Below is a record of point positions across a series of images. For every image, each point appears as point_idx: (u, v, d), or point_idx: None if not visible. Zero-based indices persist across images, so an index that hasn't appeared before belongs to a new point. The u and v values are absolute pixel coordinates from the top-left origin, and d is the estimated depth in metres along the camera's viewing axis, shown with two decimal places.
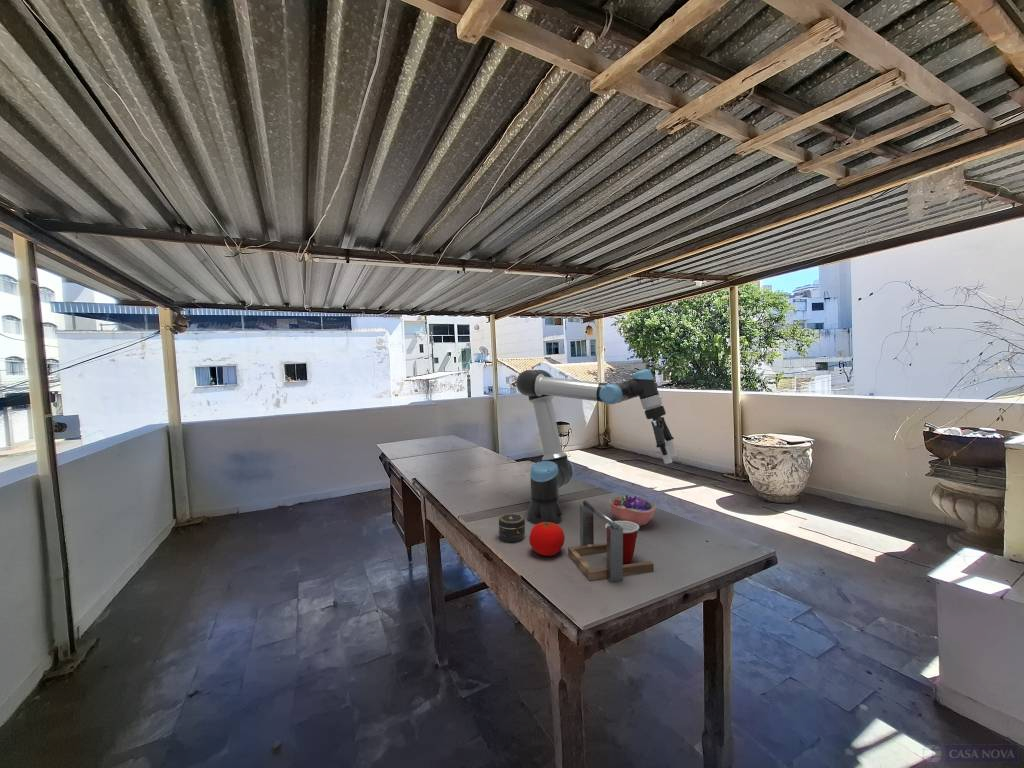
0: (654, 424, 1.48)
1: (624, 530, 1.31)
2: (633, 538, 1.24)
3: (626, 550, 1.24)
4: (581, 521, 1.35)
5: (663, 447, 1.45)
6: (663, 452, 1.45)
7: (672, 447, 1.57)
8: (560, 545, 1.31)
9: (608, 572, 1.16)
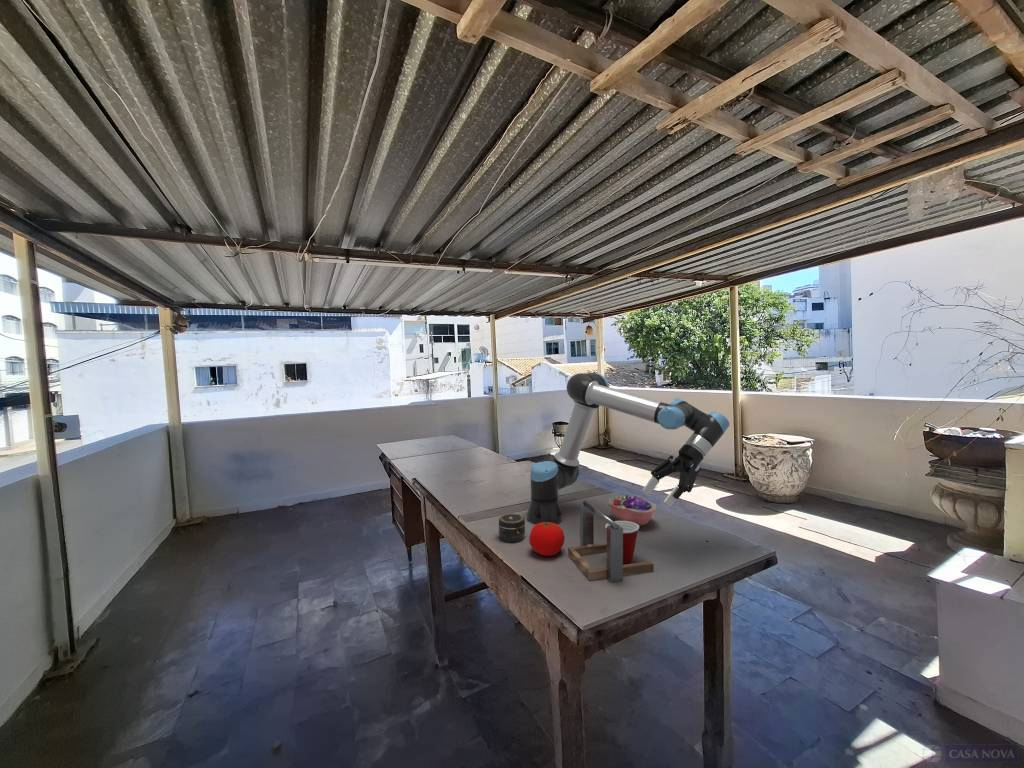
0: (696, 468, 1.26)
1: (624, 530, 1.31)
2: (633, 538, 1.24)
3: (626, 550, 1.24)
4: (581, 521, 1.35)
5: (682, 492, 1.24)
6: (677, 495, 1.23)
7: (652, 486, 1.37)
8: (560, 545, 1.31)
9: (608, 572, 1.16)
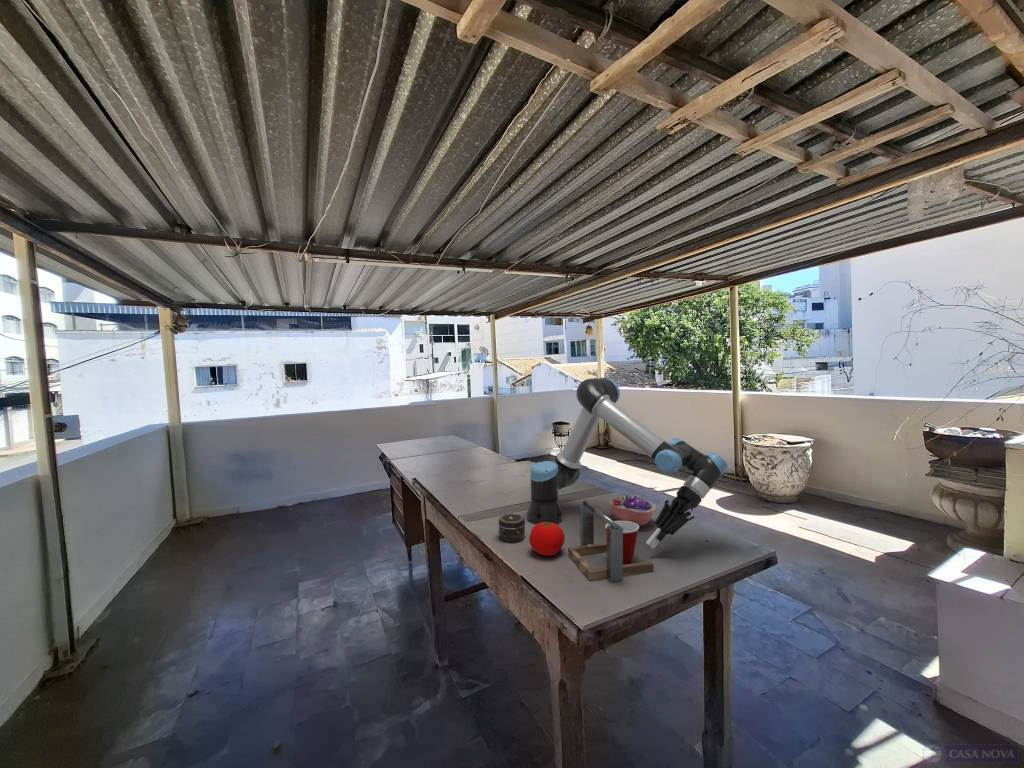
0: (688, 516, 1.27)
1: (624, 530, 1.31)
2: (633, 538, 1.24)
3: (626, 550, 1.24)
4: (581, 521, 1.35)
5: (665, 534, 1.29)
6: (660, 537, 1.29)
7: None
8: (560, 545, 1.31)
9: (608, 572, 1.16)
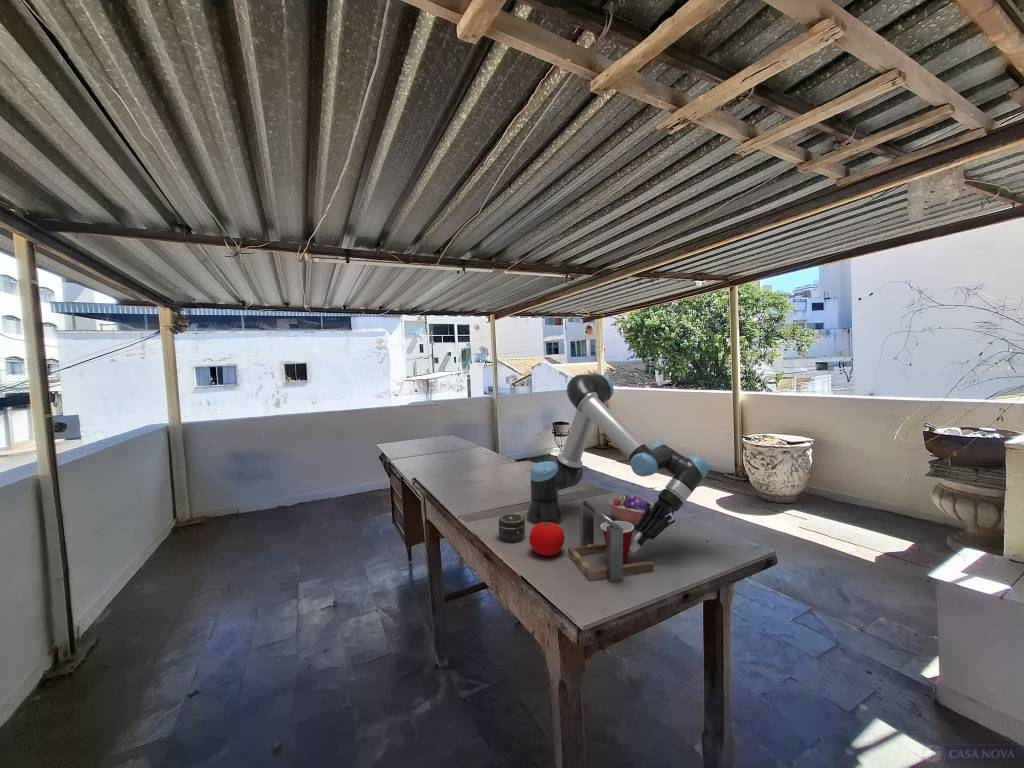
0: (669, 520, 1.24)
1: None
2: (628, 538, 1.24)
3: None
4: (581, 521, 1.35)
5: (646, 538, 1.27)
6: (641, 541, 1.27)
7: None
8: (560, 545, 1.31)
9: (608, 572, 1.16)
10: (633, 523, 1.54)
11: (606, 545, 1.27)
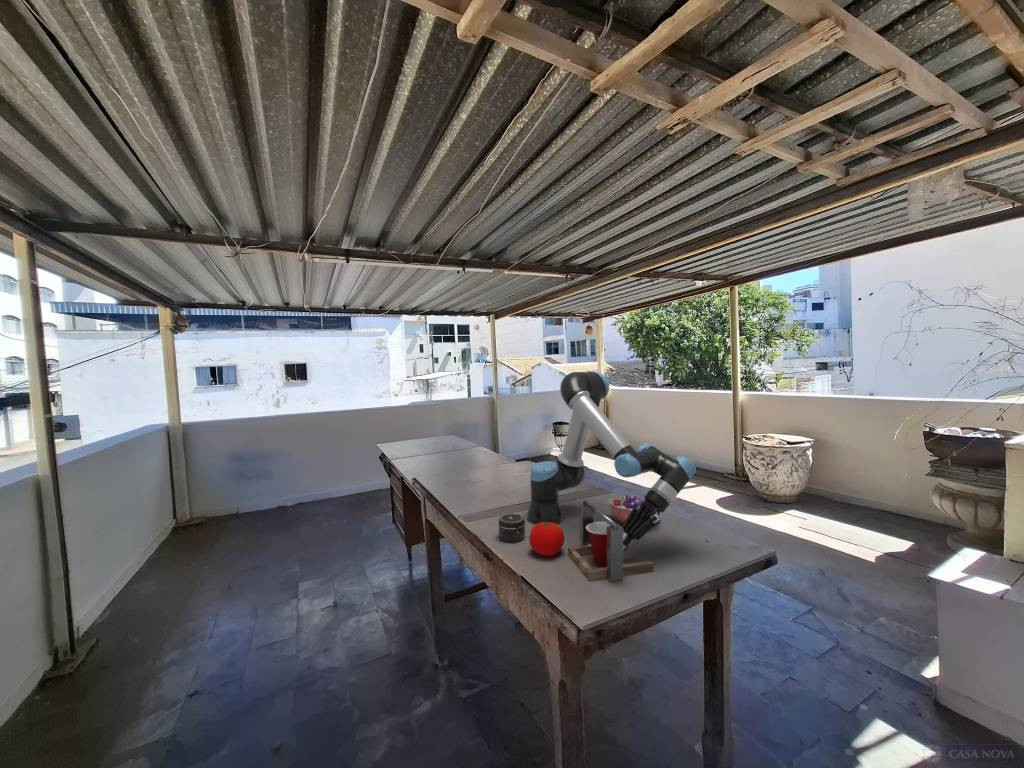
0: (654, 521, 1.24)
1: (604, 531, 1.31)
2: None
3: None
4: (581, 521, 1.35)
5: (631, 539, 1.26)
6: (626, 542, 1.26)
7: None
8: (560, 545, 1.31)
9: (608, 572, 1.16)
10: None
11: None
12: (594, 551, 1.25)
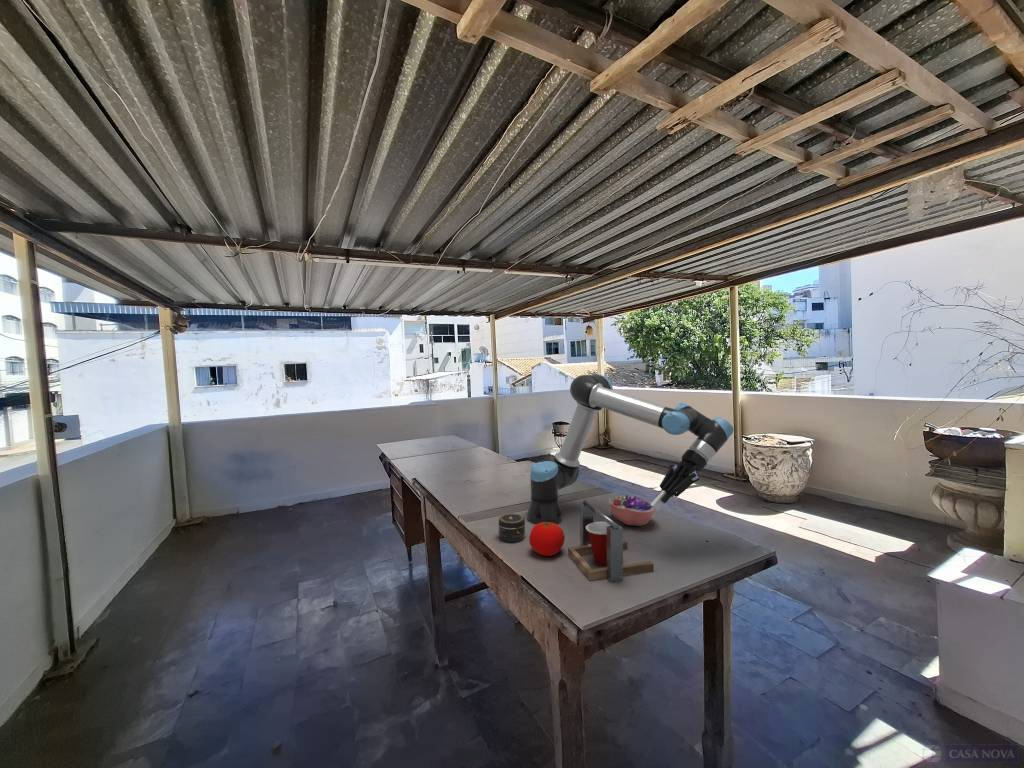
0: (693, 478, 1.26)
1: (604, 531, 1.31)
2: None
3: None
4: (581, 521, 1.35)
5: (669, 496, 1.29)
6: (665, 499, 1.29)
7: None
8: (560, 545, 1.31)
9: (608, 572, 1.16)
10: (633, 523, 1.54)
11: (591, 546, 1.26)
12: (594, 551, 1.25)
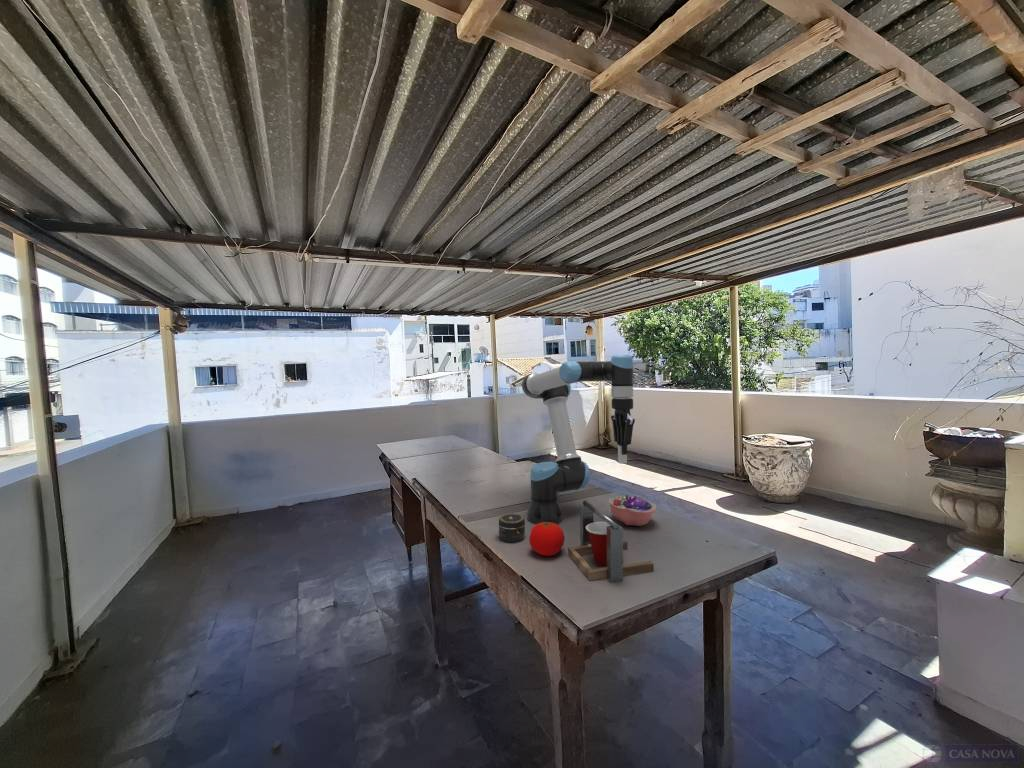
0: (630, 423, 1.34)
1: (604, 531, 1.31)
2: None
3: None
4: (581, 521, 1.35)
5: (626, 446, 1.38)
6: (624, 451, 1.38)
7: None
8: (560, 545, 1.31)
9: (608, 572, 1.16)
10: (633, 523, 1.54)
11: (591, 546, 1.26)
12: (594, 551, 1.25)
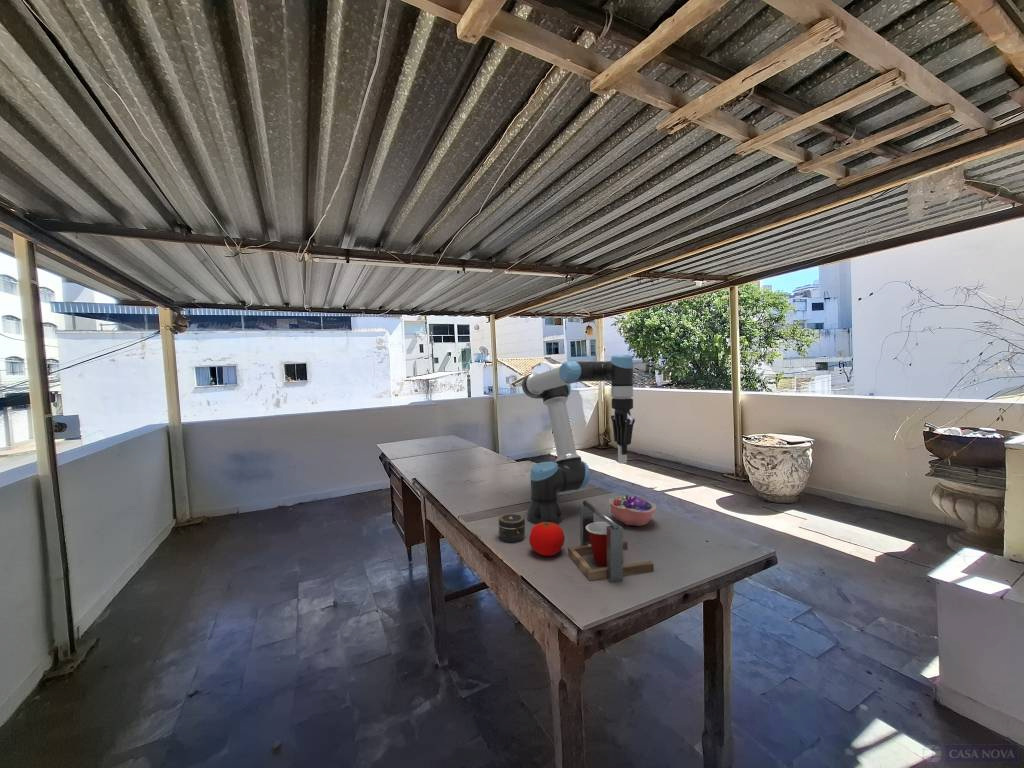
0: (630, 423, 1.34)
1: (604, 531, 1.31)
2: None
3: None
4: (581, 521, 1.35)
5: (626, 446, 1.38)
6: (624, 451, 1.38)
7: None
8: (560, 545, 1.31)
9: (608, 572, 1.16)
10: (633, 523, 1.54)
11: (591, 546, 1.26)
12: (594, 551, 1.25)
